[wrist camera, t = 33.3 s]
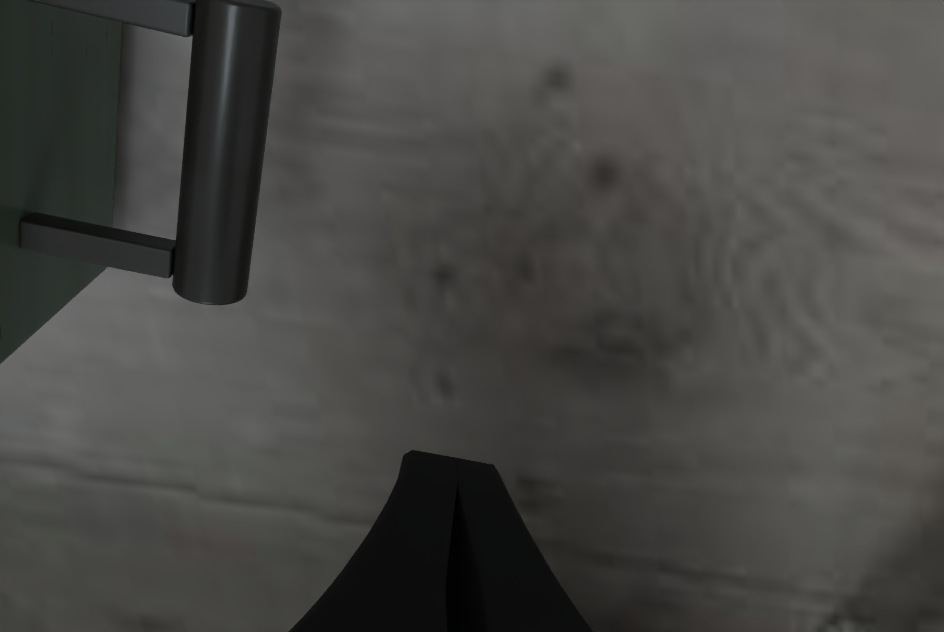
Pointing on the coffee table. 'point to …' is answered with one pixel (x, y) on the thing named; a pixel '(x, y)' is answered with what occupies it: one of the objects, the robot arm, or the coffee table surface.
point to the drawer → (94, 150)
